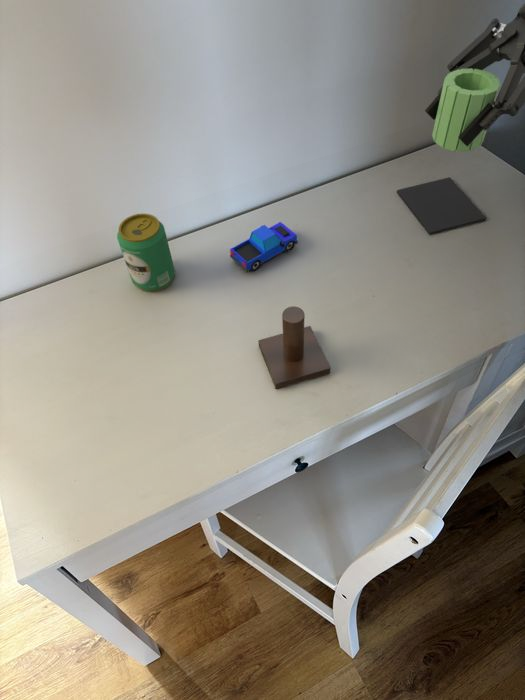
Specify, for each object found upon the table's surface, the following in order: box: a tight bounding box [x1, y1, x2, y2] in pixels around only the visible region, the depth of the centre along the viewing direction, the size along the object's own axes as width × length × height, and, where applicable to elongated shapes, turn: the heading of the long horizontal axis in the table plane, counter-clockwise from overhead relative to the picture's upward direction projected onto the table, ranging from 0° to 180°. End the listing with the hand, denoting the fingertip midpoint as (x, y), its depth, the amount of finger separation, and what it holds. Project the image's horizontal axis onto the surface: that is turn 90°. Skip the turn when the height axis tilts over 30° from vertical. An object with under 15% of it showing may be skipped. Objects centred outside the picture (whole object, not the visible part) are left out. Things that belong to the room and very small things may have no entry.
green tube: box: [431, 68, 502, 153], centre depth 91 cm, size 9×9×10 cm
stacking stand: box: [257, 305, 332, 390], centre depth 81 cm, size 9×9×11 cm
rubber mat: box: [396, 176, 487, 235], centre depth 106 cm, size 14×12×1 cm
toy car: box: [229, 221, 299, 273], centre depth 99 cm, size 7×12×5 cm, turn 127°
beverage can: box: [116, 213, 176, 293], centre depth 94 cm, size 8×8×12 cm
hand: (445, 128), depth 92 cm, fingers closed on green tube, 9 cm apart
